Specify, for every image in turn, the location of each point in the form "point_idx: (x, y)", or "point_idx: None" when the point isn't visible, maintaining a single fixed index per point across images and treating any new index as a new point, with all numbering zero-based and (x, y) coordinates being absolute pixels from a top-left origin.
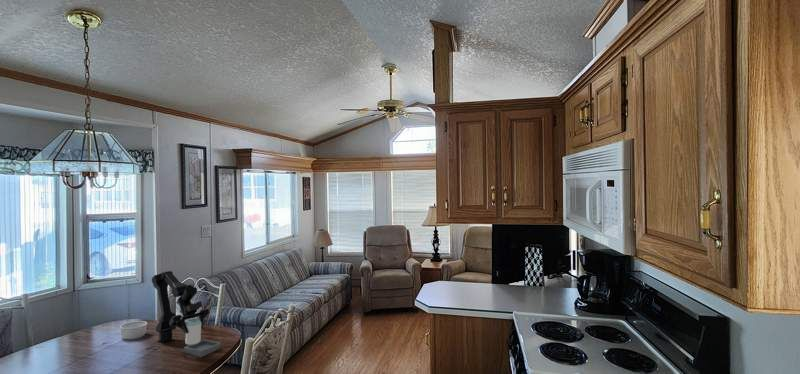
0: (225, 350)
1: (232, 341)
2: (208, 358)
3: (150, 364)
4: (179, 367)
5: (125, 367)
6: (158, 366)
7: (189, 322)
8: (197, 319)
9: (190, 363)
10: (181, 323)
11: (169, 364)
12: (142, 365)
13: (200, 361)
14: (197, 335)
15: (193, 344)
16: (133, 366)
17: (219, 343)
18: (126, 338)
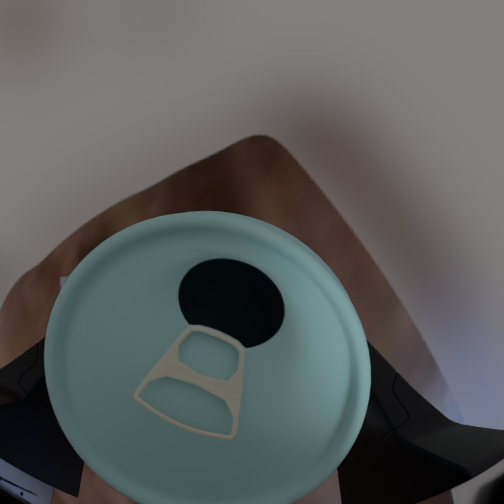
0: (82, 232)
1: (9, 310)
2: (195, 208)
3: (413, 382)
4: (352, 230)
5: (461, 414)
6: (406, 329)
7: (361, 346)
8: (81, 407)
9: (294, 228)
10: (451, 427)
11: (368, 310)
12: (432, 394)
13: (246, 207)
14: (214, 260)
15: (243, 293)
16: (448, 406)
17: (67, 276)
18: None
